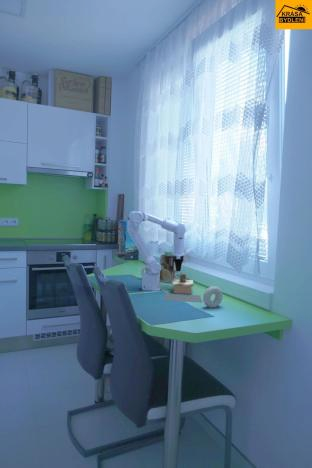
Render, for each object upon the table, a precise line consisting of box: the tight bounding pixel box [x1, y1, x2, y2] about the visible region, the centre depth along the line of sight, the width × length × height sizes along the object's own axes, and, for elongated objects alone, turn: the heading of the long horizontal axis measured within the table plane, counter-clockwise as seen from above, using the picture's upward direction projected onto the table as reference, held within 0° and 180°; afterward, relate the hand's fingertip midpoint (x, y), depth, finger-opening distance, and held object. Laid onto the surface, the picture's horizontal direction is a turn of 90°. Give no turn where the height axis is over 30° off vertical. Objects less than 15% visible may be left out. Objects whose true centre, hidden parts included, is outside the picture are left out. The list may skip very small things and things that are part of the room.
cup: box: [140, 266, 147, 277], centre depth 210 cm, size 7×10×9 cm
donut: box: [202, 285, 224, 309], centre depth 152 cm, size 10×3×10 cm, turn 117°
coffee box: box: [159, 254, 178, 284], centre depth 205 cm, size 9×6×16 cm
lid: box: [171, 273, 194, 287], centre depth 178 cm, size 11×11×5 cm
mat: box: [163, 293, 203, 303], centre depth 166 cm, size 18×13×1 cm
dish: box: [173, 285, 193, 295], centre depth 179 cm, size 9×9×5 cm
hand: (178, 270), depth 187 cm, fingers open, 7 cm apart
